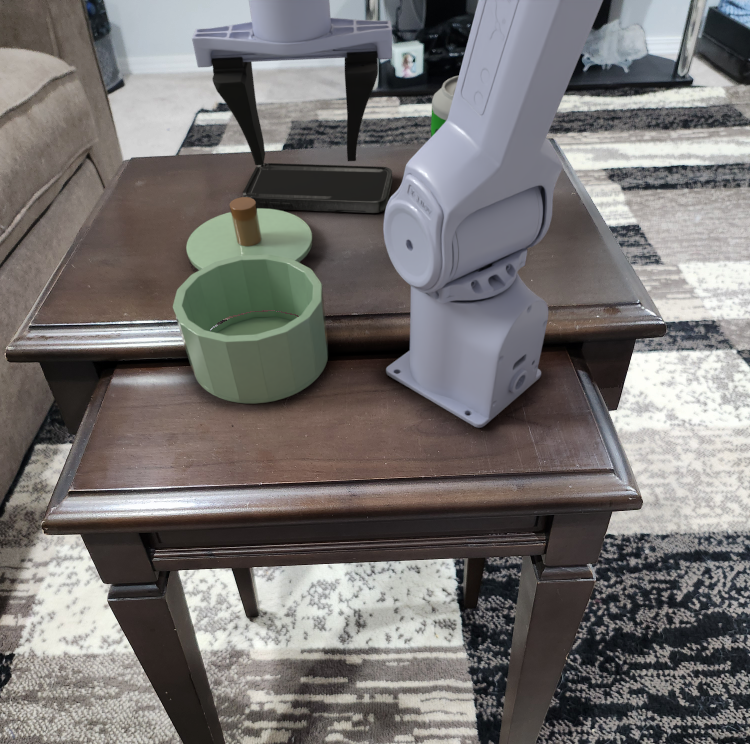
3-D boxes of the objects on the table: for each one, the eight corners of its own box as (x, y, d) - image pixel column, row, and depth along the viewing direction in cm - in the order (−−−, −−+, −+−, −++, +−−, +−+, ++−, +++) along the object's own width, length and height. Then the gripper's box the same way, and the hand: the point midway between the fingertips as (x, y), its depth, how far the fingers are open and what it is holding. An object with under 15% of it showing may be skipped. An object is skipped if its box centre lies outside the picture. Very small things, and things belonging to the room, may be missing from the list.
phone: (258, 162, 73) (393, 166, 72) (259, 173, 74) (393, 177, 73) (239, 198, 69) (384, 203, 67) (241, 208, 69) (384, 213, 68)
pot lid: (338, 246, 65) (335, 199, 61) (243, 302, 59) (233, 253, 56) (258, 206, 70) (250, 160, 66) (164, 254, 65) (149, 207, 61)
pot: (356, 353, 54) (352, 290, 50) (253, 424, 50) (238, 362, 45) (267, 301, 59) (256, 239, 55) (165, 361, 54) (144, 299, 50)
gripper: (388, -67, 48) (390, 133, 58) (186, -58, 48) (224, 140, 58) (392, -40, 43) (394, 171, 54) (170, -31, 43) (215, 178, 54)
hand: (305, 157), depth 56 cm, fingers open, 7 cm apart
